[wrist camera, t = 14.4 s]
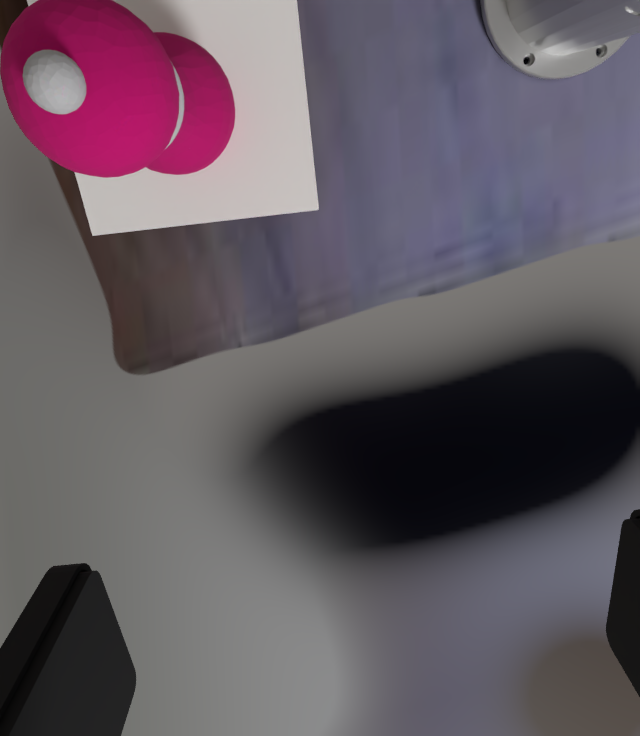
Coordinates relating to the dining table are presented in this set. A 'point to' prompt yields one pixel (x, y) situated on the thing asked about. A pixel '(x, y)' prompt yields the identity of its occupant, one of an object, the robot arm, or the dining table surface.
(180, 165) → the pepper mill
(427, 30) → the dining table surface
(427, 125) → the dining table surface
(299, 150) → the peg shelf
